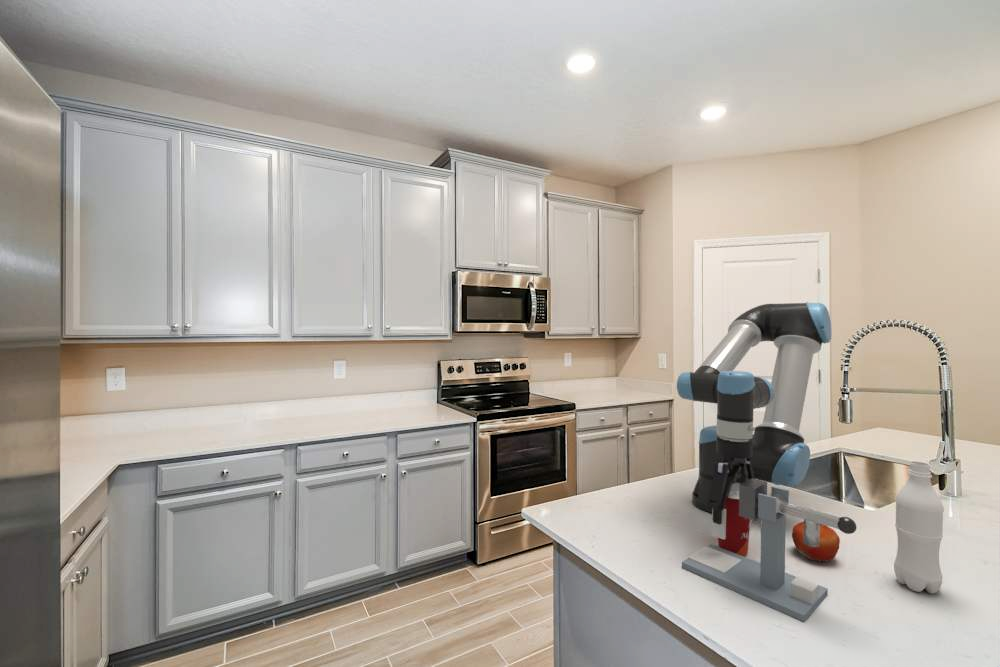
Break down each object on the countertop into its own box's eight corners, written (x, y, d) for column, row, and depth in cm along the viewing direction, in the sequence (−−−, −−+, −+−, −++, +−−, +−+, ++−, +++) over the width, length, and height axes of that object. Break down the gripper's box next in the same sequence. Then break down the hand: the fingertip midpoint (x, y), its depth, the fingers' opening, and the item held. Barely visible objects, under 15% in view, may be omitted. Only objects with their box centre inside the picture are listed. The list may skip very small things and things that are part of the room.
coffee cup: (758, 561, 101) (759, 494, 100) (718, 557, 102) (719, 491, 102) (745, 543, 109) (746, 481, 109) (709, 540, 111) (710, 479, 110)
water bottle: (884, 577, 94) (886, 458, 94) (915, 575, 95) (918, 457, 95) (918, 598, 87) (921, 469, 87) (952, 596, 88) (955, 468, 87)
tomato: (826, 571, 97) (826, 534, 97) (782, 551, 105) (783, 517, 105) (849, 560, 101) (849, 525, 101) (805, 543, 109) (806, 510, 109)
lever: (738, 526, 92) (739, 484, 92) (751, 518, 96) (751, 478, 96) (850, 564, 78) (851, 514, 78) (860, 553, 81) (861, 505, 81)
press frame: (681, 567, 98) (683, 478, 98) (710, 549, 106) (711, 466, 106) (804, 622, 80) (806, 512, 80) (827, 594, 88) (829, 495, 88)
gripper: (726, 449, 94) (724, 551, 94) (773, 433, 110) (771, 520, 110) (691, 442, 100) (689, 537, 100) (741, 428, 116) (739, 510, 116)
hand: (732, 529), depth 105 cm, fingers open, 13 cm apart
